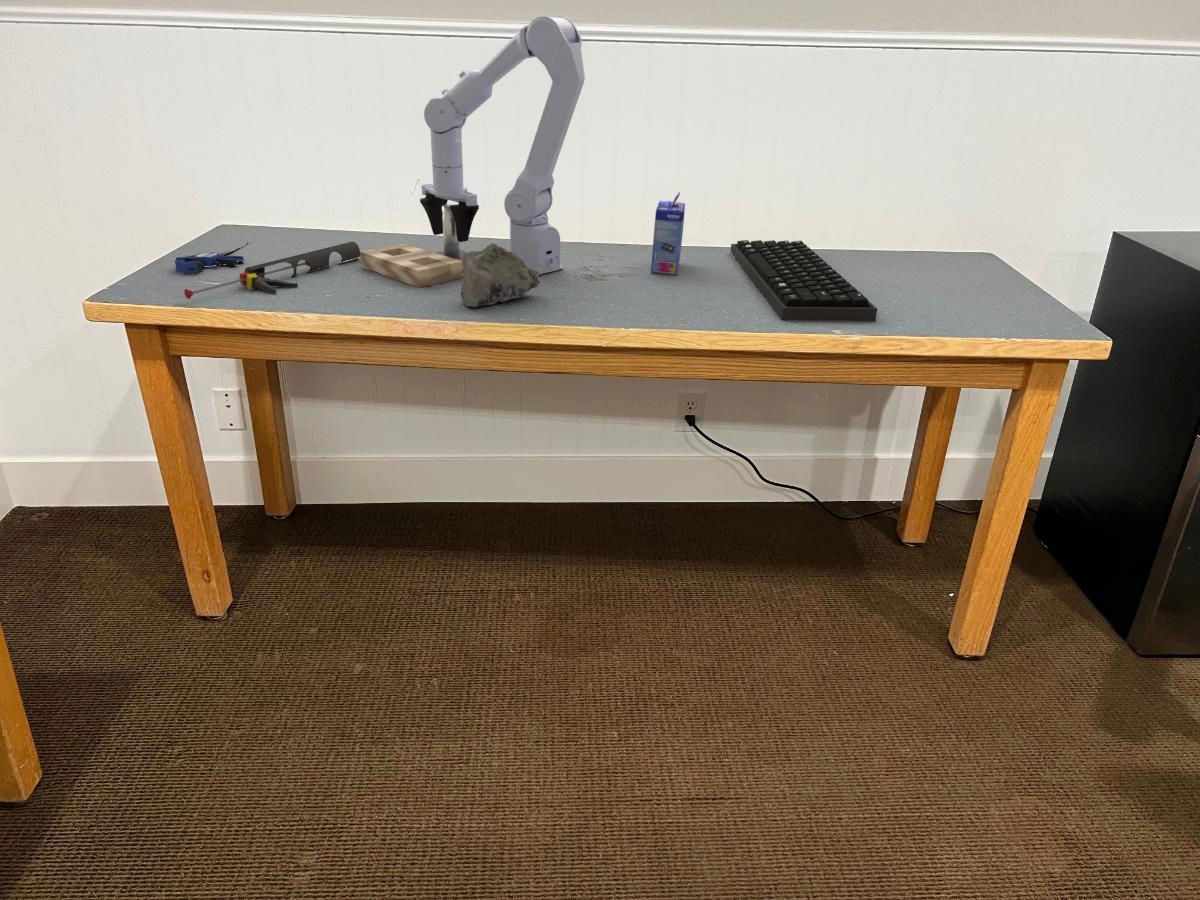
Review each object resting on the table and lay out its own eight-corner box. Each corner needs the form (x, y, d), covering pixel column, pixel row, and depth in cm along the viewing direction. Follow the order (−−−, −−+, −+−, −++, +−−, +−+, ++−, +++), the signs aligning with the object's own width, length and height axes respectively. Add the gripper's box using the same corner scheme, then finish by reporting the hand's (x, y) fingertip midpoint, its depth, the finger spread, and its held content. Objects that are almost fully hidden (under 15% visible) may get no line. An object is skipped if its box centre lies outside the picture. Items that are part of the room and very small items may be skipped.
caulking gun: (381, 253, 167) (343, 236, 170) (217, 298, 138) (175, 276, 141) (380, 272, 169) (342, 255, 172) (217, 321, 140) (176, 299, 144)
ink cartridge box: (679, 275, 166) (684, 198, 160) (650, 274, 167) (654, 196, 160) (681, 263, 175) (686, 189, 168) (653, 261, 176) (658, 187, 169)
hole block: (463, 277, 161) (462, 261, 159) (419, 287, 154) (418, 270, 153) (404, 258, 171) (403, 243, 170) (361, 267, 165) (359, 251, 163)
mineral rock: (540, 294, 153) (540, 237, 148) (535, 313, 143) (535, 252, 138) (467, 292, 153) (465, 234, 148) (457, 310, 143) (454, 249, 138)
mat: (487, 259, 173) (487, 257, 173) (447, 267, 166) (447, 266, 166) (455, 250, 179) (455, 248, 179) (416, 258, 172) (416, 256, 172)
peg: (462, 257, 172) (460, 206, 168) (450, 259, 170) (448, 208, 166) (453, 254, 174) (450, 203, 170) (441, 257, 172) (438, 205, 168)
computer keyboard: (730, 256, 184) (731, 238, 182) (803, 257, 185) (805, 239, 183) (781, 323, 144) (784, 301, 142) (874, 324, 144) (878, 301, 143)
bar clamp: (221, 263, 156) (167, 261, 157) (223, 277, 157) (169, 275, 158) (288, 231, 186) (242, 229, 186) (290, 242, 187) (244, 241, 187)
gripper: (488, 169, 163) (490, 241, 169) (440, 159, 172) (443, 228, 178) (459, 172, 158) (462, 246, 164) (411, 162, 167) (415, 233, 173)
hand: (450, 237), depth 171 cm, fingers open, 7 cm apart
